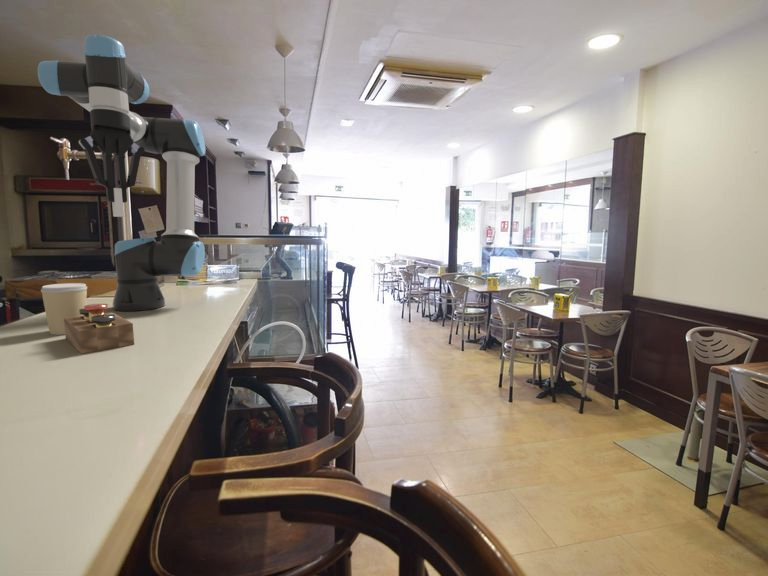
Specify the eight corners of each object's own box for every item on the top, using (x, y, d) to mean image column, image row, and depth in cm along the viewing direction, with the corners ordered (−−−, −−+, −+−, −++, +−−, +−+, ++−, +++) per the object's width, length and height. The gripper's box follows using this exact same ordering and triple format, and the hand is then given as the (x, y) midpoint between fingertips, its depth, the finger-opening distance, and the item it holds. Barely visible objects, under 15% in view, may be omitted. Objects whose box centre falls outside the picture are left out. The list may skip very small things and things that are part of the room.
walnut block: (114, 331, 104) (112, 312, 104) (134, 344, 93) (132, 323, 92) (65, 338, 97) (63, 318, 97) (81, 353, 86) (79, 330, 85)
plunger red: (107, 329, 98) (104, 302, 97) (111, 332, 95) (109, 305, 94) (84, 332, 95) (82, 305, 94) (89, 335, 92) (86, 307, 91)
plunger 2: (114, 340, 94) (112, 313, 93) (119, 344, 91) (117, 316, 90) (91, 344, 91) (89, 316, 90) (96, 348, 88) (93, 319, 87)
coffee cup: (99, 327, 109) (95, 283, 107) (69, 336, 99) (64, 288, 98) (68, 326, 109) (63, 282, 108) (35, 334, 100) (30, 287, 99)
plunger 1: (101, 331, 102) (99, 306, 101) (105, 334, 99) (103, 308, 98) (80, 334, 99) (77, 308, 98) (84, 337, 96) (81, 311, 95)
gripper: (136, 120, 99) (143, 217, 103) (71, 108, 90) (81, 215, 93) (147, 115, 94) (154, 217, 97) (78, 101, 85) (88, 215, 88)
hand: (118, 216), depth 95 cm, fingers closed
